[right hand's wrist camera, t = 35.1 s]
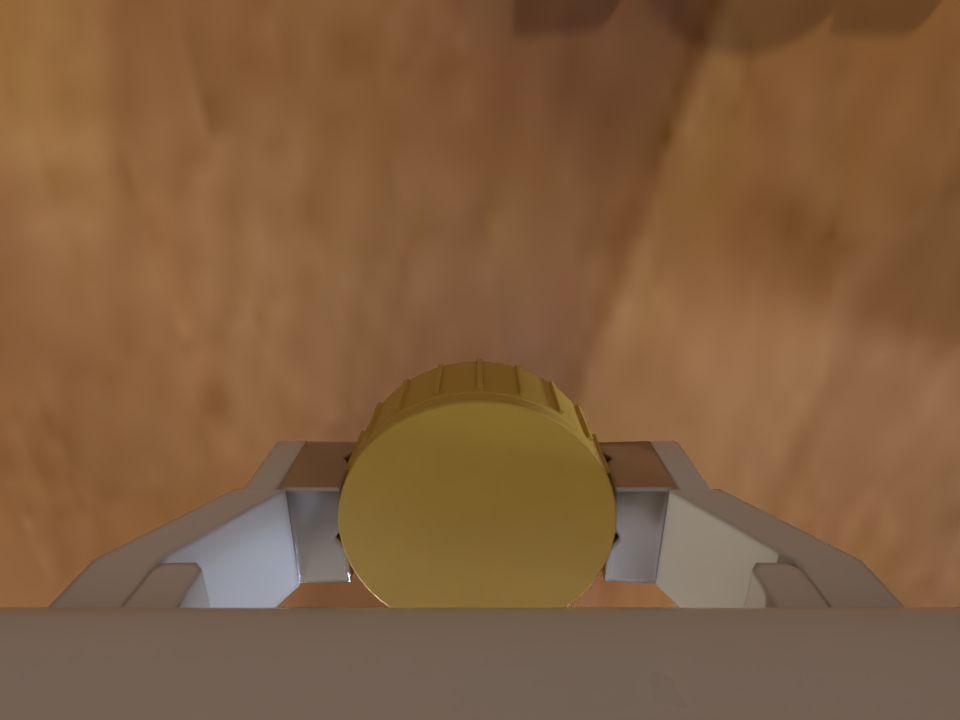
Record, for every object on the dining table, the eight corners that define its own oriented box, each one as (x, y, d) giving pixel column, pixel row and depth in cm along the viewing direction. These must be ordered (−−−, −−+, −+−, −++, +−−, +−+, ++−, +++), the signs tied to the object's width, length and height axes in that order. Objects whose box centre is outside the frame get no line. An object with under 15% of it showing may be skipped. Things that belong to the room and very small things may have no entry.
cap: (392, 585, 11) (377, 656, 9) (324, 384, 9) (294, 429, 8) (612, 547, 10) (635, 614, 9) (579, 334, 9) (599, 370, 7)
